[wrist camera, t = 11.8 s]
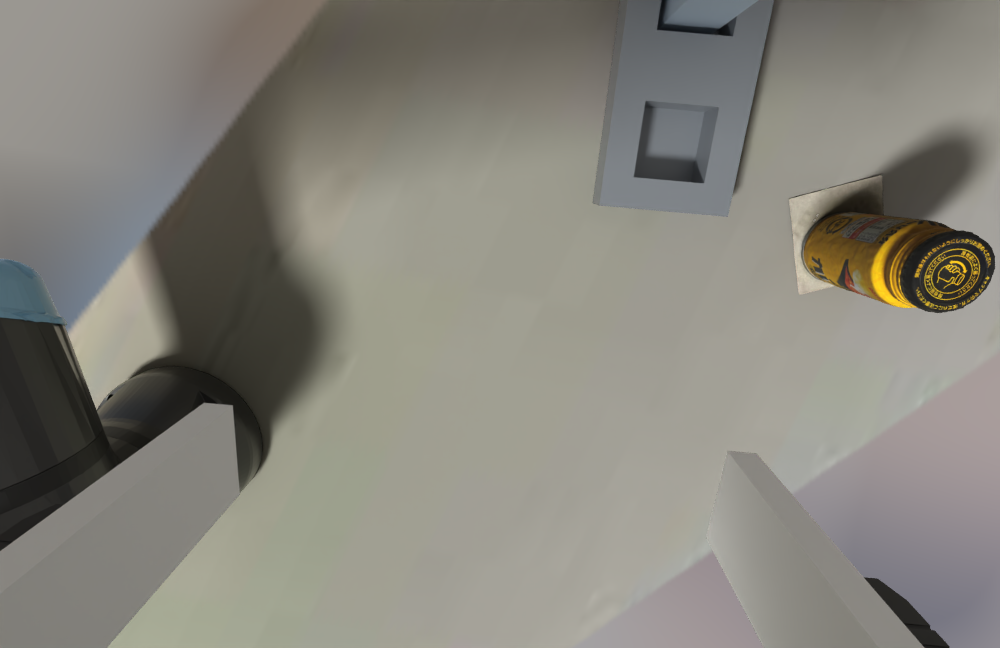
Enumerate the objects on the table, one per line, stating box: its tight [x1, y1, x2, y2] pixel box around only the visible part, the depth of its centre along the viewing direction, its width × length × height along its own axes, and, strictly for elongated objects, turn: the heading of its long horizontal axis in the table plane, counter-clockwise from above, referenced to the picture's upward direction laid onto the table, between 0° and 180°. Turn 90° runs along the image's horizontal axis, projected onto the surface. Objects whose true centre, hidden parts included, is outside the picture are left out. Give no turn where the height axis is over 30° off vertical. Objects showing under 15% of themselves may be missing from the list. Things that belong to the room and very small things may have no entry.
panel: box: [593, 0, 774, 217], centre depth 37 cm, size 10×20×4 cm, turn 175°
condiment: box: [789, 175, 995, 313], centre depth 36 cm, size 7×8×12 cm
